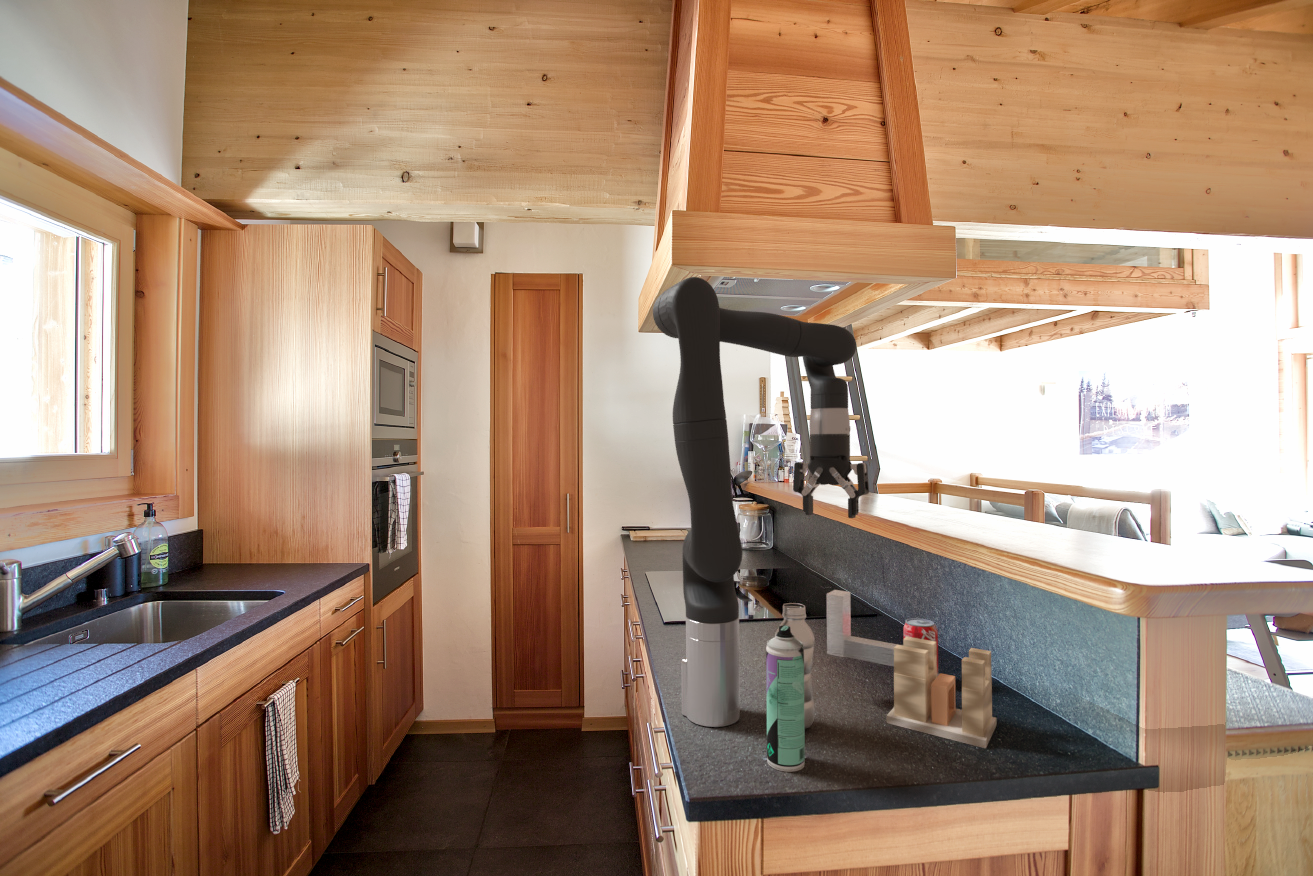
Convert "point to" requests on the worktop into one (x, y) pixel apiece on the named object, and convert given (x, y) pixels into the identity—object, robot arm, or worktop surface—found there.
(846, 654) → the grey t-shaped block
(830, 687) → the worktop surface
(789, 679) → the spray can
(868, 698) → the worktop surface
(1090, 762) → the worktop surface
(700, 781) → the worktop surface
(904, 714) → the stand
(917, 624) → the soda can
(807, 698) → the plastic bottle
